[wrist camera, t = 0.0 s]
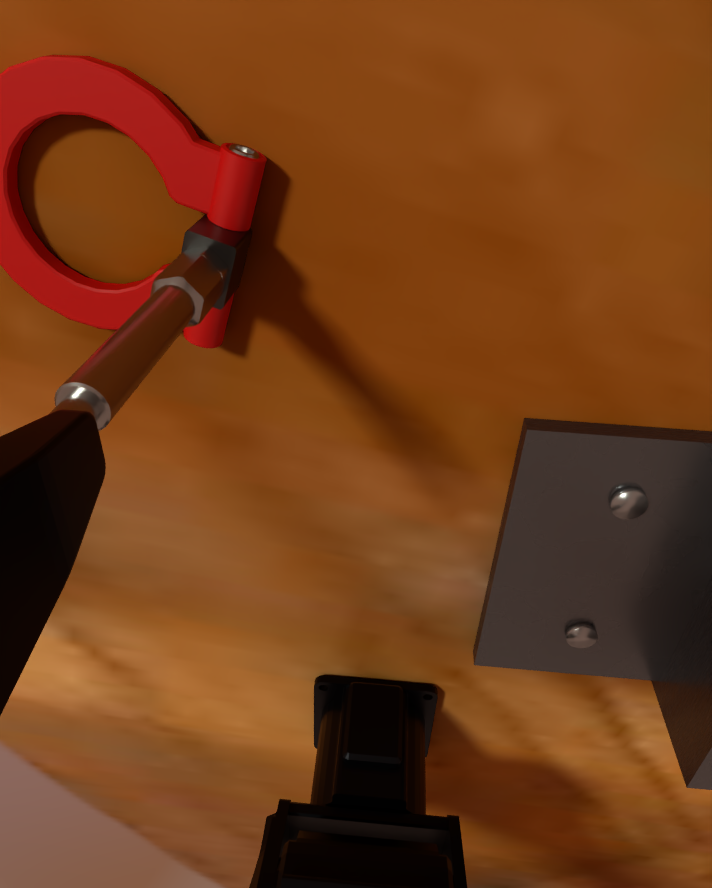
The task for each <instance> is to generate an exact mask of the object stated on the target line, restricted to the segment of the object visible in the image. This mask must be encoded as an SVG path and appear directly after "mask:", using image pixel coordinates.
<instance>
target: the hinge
mask: <svg viewBox="0 0 712 888" xmlns="http://www.w3.org/2000/svg"><path fill="white" fill-rule="evenodd" d="M473 656H474V665H480V666H491V667H503V668H514V669H526V670H537V671H549V672H560V673H572V674H583V675H595V676H606V677H618V678H629V679H641V680H651V681H652V684H653V687H654V690H655V693H656V696H657V699H658V702H659V705H660V708H661V711H662V714H663V717H664V720H665V723H666V727H667V730H668V733H669V736H670V739H671V742H672V745H673V748H674V751H675V754H676V757H677V760H678V763H679V766H680V769H681V772H682V775H683V778H684V781H685V784H686V787H687V788H697V789H707V790H712V432H711V431H697V430H683V429H669V428H655V427H641V426H627V425H614V424H600V423H586V422H572V421H558V420H544V419H530V418H524V422H523V426H522V431H521V435H520V440H519V445H518V449H517V454H516V458H515V463H514V467H513V472H512V476H511V481H510V486H509V490H508V495H507V499H506V504H505V508H504V513H503V518H502V522H501V527H500V531H499V536H498V540H497V545H496V549H495V554H494V559H493V563H492V568H491V572H490V577H489V581H488V586H487V591H486V595H485V600H484V604H483V609H482V613H481V618H480V622H479V627H478V632H477V636H476V641H475V645H474V650H473Z"/></svg>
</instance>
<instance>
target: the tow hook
mask: <svg viewBox="0 0 712 888" xmlns="http://www.w3.org/2000/svg"><path fill="white" fill-rule="evenodd" d="M60 114H68V115H85V116H88V117H91V118H94V119H97V120H100V121H103V122H106V123H108V124H110V125H111V126H113V127H115V128H116V129H118V130H119V131H121V132H123V133H124V134H126V135H127V136H129V137H130V138H131V139H132V140H133V141H134V142H135V143H136V144H137V145H138V146H139V147H140V148H141V149H142V150H143V151H144V152H145V153H146V154H147V155H148V156H149V157H150V159H151V160H152V162H153V164H154V165H155V167H156V168H157V170H158V171H159V173H160V174H161V176H162V177H163V180H164V182H165V185H166V188H167V190H168V193H169V196H170V197H171V198H172V199H173V200H174V201H175V202H176V203H178V204H181V205H184V206H186V207H189V208H192V209H194V210H197V211H200V212H202V213H205V215H204V216H203V217H202V218H201V219H200V220H199V221H197V222H196V223H195V224H194V225H193V226H192V227H191V228H190V229H188V230H187V231H186V232H185V236H184V241H183V247H182V252H181V254H180V255H179V256H178V257H177V259H175V260H174V261H173V262H172V263H170V264H166V265H163V266H162V267H161V268H160V269H159V270H158V271H157V272H156V273H154V274H152V275H151V276H149V277H147V278H145V279H144V280H141V281H136V282H131V283H127V284H115V283H104V282H100V281H97V280H94V279H91V278H88V277H85V276H83V275H81V274H79V273H78V272H76V271H74V270H72V269H71V268H69V267H67V266H65V265H64V264H63V263H62V262H61V261H60V260H59V259H57V258H56V257H55V256H54V255H53V254H52V253H51V252H49V251H48V249H47V248H46V247H45V246H44V244H43V243H42V242H41V240H40V239H39V238H38V237H37V235H36V234H35V233H34V231H33V229H32V227H31V225H30V223H29V221H28V219H27V217H26V215H25V213H24V211H23V208H22V204H21V200H20V196H19V192H18V182H17V165H18V162H19V158H20V154H21V151H22V147H23V145H24V143H25V142H26V140H27V139H28V137H29V136H30V134H31V133H32V131H33V130H34V129H35V128H36V127H37V126H39V125H40V124H42V123H43V122H44V121H46V120H47V119H48V118H50V117H53V116H56V115H60ZM266 160H267V159H266V157H265V156H264V155H263V154H261V153H260V152H258V151H256V150H254V149H252V148H249V147H247V146H243V145H239V144H234V143H224V144H222V145H221V146H218V145H216V144H213V143H210V142H208V141H205V140H203V139H200V138H199V136H198V135H197V133H196V131H195V130H194V128H193V126H192V125H191V123H190V121H189V120H188V119H187V118H186V117H185V116H184V115H183V114H182V113H181V112H180V111H179V110H178V109H177V108H176V107H175V106H174V105H173V104H172V103H171V101H170V100H169V99H168V98H167V97H166V96H165V95H164V94H163V93H162V92H161V91H160V90H158V89H157V88H155V87H154V86H152V85H151V84H149V83H147V82H146V81H144V80H143V79H141V78H140V77H138V76H137V75H135V74H134V73H132V72H130V71H129V70H127V69H126V68H123V67H120V66H117V65H114V64H111V63H108V62H105V61H102V60H99V59H96V58H93V57H90V56H70V55H49V56H42V57H39V58H36V59H33V60H30V61H26V62H23V63H20V64H17V65H14V66H11V67H9V68H7V69H6V70H5V71H4V72H2V73H1V74H0V265H1V266H2V267H3V268H4V270H5V271H6V272H7V273H8V274H9V276H10V277H11V278H12V279H13V280H14V281H15V282H16V283H17V284H18V285H20V286H21V287H22V288H23V289H24V290H25V291H27V292H28V293H29V294H30V295H31V296H33V297H34V298H35V299H36V300H37V301H39V302H40V303H41V304H43V305H45V306H47V307H48V308H50V309H52V310H54V311H56V312H57V313H59V314H61V315H63V316H65V317H66V318H68V319H70V320H74V321H77V322H80V323H83V324H86V325H90V326H93V327H96V328H99V329H111V330H116V331H115V332H114V333H113V334H112V335H111V336H110V337H109V338H108V339H107V340H106V341H105V342H104V343H103V344H102V345H101V346H100V347H99V348H98V349H97V350H96V351H95V352H94V353H93V354H92V355H91V356H90V357H89V358H88V359H87V360H86V361H85V362H84V363H83V364H82V365H81V366H80V367H79V368H78V369H77V370H76V371H75V372H74V373H73V374H72V375H71V376H70V377H69V378H68V379H67V380H66V381H65V382H64V383H63V384H62V385H61V386H60V387H59V389H58V390H57V392H56V394H55V406H56V407H55V408H54V409H53V410H52V411H51V413H53V412H55V411H58V410H63V409H64V410H77V411H88V412H90V413H91V414H92V415H93V416H94V418H95V420H96V423H97V427H98V431H99V430H102V429H103V428H105V427H106V426H107V425H108V423H109V422H110V421H111V420H112V418H113V417H114V416H115V415H116V413H117V412H118V411H119V410H120V408H121V407H122V406H123V405H124V403H125V402H126V401H127V400H128V398H129V397H130V396H131V395H132V393H133V392H134V391H135V390H136V388H137V387H138V386H139V385H140V383H141V382H142V381H143V380H144V378H145V377H146V376H147V375H148V373H149V372H150V371H151V370H152V368H153V367H154V366H155V365H156V363H157V362H158V361H159V360H160V358H161V357H162V356H163V355H164V353H165V352H166V351H167V350H168V348H169V347H170V346H171V345H172V343H173V342H174V341H175V340H176V338H177V337H178V336H179V335H180V333H181V332H182V331H184V337H185V339H186V340H188V341H189V342H190V343H192V344H194V345H196V346H199V347H204V348H216V347H219V346H220V345H221V344H222V342H223V338H224V334H225V330H226V326H227V321H228V317H229V313H230V309H231V305H232V301H233V297H234V293H235V291H236V289H237V288H238V287H239V284H240V280H241V276H242V272H243V268H244V264H245V260H246V256H247V251H248V247H249V243H250V239H251V235H252V229H251V222H252V218H253V214H254V210H255V206H256V202H257V197H258V193H259V189H260V185H261V181H262V177H263V173H264V168H265V164H266ZM51 413H50V414H51Z"/></svg>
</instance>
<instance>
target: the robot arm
mask: <svg viewBox="0 0 712 888" xmlns="http://www.w3.org/2000/svg"><path fill="white" fill-rule="evenodd" d="M105 468H106V467H105V458H104V454H103V449H102V445H101V440H100V436H99V431H98V427H97V423H96V420H95V418H94V416H93V415H92V414H91V413H90V412H88V411H77V410H64V409H63V410H58V411H55V412H53V413H51V414H49V415H46V416H44V417H42V418H40V419H38V420H36V421H33V422H31V423H29V424H27V425H25V426H23V427H20V428H18V429H16V430H14V431H12V432H10V433H7V434H5V435H3V436H1V437H0V715H1V713H2V711H3V709H4V707H5V705H6V703H7V701H8V699H9V697H10V695H11V693H12V691H13V689H14V687H15V685H16V683H17V681H18V679H19V677H20V675H21V673H22V671H23V669H24V667H25V665H26V663H27V661H28V659H29V657H30V655H31V653H32V651H33V648H34V646H35V644H36V642H37V640H38V638H39V636H40V634H41V632H42V630H43V628H44V626H45V624H46V622H47V620H48V618H49V616H50V614H51V612H52V610H53V608H54V606H55V604H56V602H57V600H58V598H59V596H60V594H61V592H62V590H63V588H64V585H65V583H66V581H67V579H68V577H69V575H70V572H71V570H72V567H73V565H74V562H75V560H76V557H77V554H78V551H79V548H80V546H81V543H82V540H83V537H84V534H85V531H86V529H87V526H88V523H89V520H90V517H91V514H92V512H93V509H94V506H95V503H96V500H97V497H98V494H99V492H100V489H101V486H102V483H103V480H104V476H105ZM436 704H437V689H436V687H434V686H432V685H425V684H414V683H402V682H391V681H380V680H368V679H357V678H346V677H334V676H319V677H317V678H316V679H315V685H314V746H315V748H316V749H317V755H316V763H315V771H314V778H313V786H312V794H311V802H310V804H307V803H297V802H291V800H287V799H280V800H279V804H278V809H277V811H276V813H275V814H272V815H270V816H267V818H266V823H265V829H264V834H263V840H262V845H261V850H260V854H259V858H258V861H257V864H256V868H255V871H254V874H253V877H252V881H251V884H250V887H249V888H467V882H466V874H465V865H464V856H463V848H462V839H461V830H460V822H459V816H453V815H447V817H442V816H432V815H426V790H425V757H426V756H427V753H428V747H429V742H430V736H431V731H432V725H433V720H434V714H435V709H436Z"/></svg>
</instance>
